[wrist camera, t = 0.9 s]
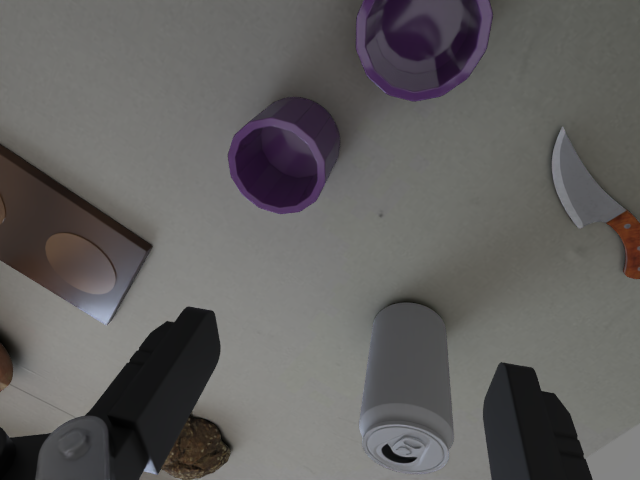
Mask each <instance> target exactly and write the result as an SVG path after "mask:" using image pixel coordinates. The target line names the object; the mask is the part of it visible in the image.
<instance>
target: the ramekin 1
mask: <svg viewBox="0 0 640 480" xmlns="http://www.w3.org/2000/svg"><path fill="white" fill-rule="evenodd" d="M339 151H340V135H339V131H338V128H337V125H336V123H335V121H334V119H333V118H332V117H331V115H330V114H329V113H328V112H327V111H326V110H325V109H324V108H323V107H322V106H321V105H319V104H318V103H316V102H314V101H312V100H309V99H306V98H302V97H288V98H283V99H281V100H278V101H276V102H274V103H272V104H271V105H270V106H269V107H267V108H266V109H265V110H263V111H262V112H261V113H260V114H258V115H257V116H256V117H255V118H253V119H252V120H251V121H250V122H248V123H247V124H246V125H245V126H244V127H243V128H242V129H241V130H239V131H238V132H237V133H236V134H235V135H234V137H233V140H232V143H231V146H230V149H229V152H228V161H229V168H230V174H231V178H232V179H233V181H234V182H235V184H236V186H237V187H238V189H239V190H240V192H241V194H242V195H243V196H244V197H246V198H247V199H248V200H249V201H251V202H252V203H253V204H255V205H256V206H257V207H259V208H260V209H264V210H267V211H271V212H274V213H277V214H286V213H295V212H300V211H302V210H303V209H305V208H306V207H308V206H309V205H311V204H312V203H314V202H315V201H316V200H317V198H318V197H319V195H320V193H321V191H322V189H323V187H324V185H325V183H326V181H327V179H328V177H329V175H330V173H331V171H332V169H333V167H334V165H335V163H336V160H337V158H338V156H339Z"/></svg>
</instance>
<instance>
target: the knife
mask: <svg viewBox="0 0 640 480" xmlns="http://www.w3.org/2000/svg"><path fill="white" fill-rule="evenodd" d="M552 174H553V180H554V185H555V188H556V191H557V194H558V196H559V198H560V201H561V203H562V205H563V206H564V208H565V210H566V212H567V213H568V215H569V216H570V218H571V219H572V221H573V222H574V223H575V225H576V226H577V227H578V228H579V229H580V228H582V227H584V226H586V225H588V224H590V223H593V222H605V223H607V224H608V225H610V226H611V227H612V228H613V229H614V230H615V231H616V232H617V233H618V234H619V236H620V238H621V239H622V242H623V244H624V247H625V254H626V259H625V265H624V270H623V272H624V273H625V275H626V276H627V277H630V278H633V279H640V223H639V222H638V221H637V219H636V218H635V217H634V216H633V215H632V214H631V213H630V212H629V211H628V210H626V209H625V208H624V207H622V206H621V205H620V204H618V203H617V202H616V201H615V200H614V199H613V198H611V197H610V196H609V195H608V194H607V193H606V192H605V191H604V190H603V189H602V188H601V187H600V186H599V184H598V183H597V182H596V181H595V180H594V179H593V177H592V176H591V175H590V173H589V172H588V171H587V169H586V168H585V166H584V165H583V163H582V162H581V160H580V158H579V157H578V155H577V153H576V151H575V150H574V148H573V146H572V144H571V142H570V140H569V138H568V136H567V134H566V132H565V130H564V127H562V129H561V131H560V133H559V135H558V138H557V141H556V144H555V147H554V150H553V155H552Z"/></svg>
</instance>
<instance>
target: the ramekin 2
mask: <svg viewBox="0 0 640 480" xmlns="http://www.w3.org/2000/svg"><path fill="white" fill-rule="evenodd" d="M492 19H493V12H492V8H491V4H490V0H364V1H363V3H362V5H361V7H360V10H359V12H358V14H357V18H356V51H357V53H358V56H359V58H360V61H361V63H362V66H363V68H364V71H365V73H366V75H367V77H368V78H369V79H370V80H371V81H373V82H374V83H375V84H376V85H377V86H378V87H379V88H380V89H381V90H383V91H384V92H385V93H386V94H388V95H390V96H394V97H398V98H401V99H405V100H409V101H420V100H425V99H431V98H436V97H441V96H443V95H445V94H446V93H447V92H449V91H450V90H452V89H453V88H455V87H456V86H458V85H459V84H460V83H462V82H463V81H465V80H466V79H467V78H468V77H469V76H470V74H471V73H472V71H473V70H474V68H475V67H476V65H477V64H478V62H479V61H480V59H481V58H482V56H483V55H484V53H485V51H486V49H487V45H488V40H489V35H490V30H491V24H492Z"/></svg>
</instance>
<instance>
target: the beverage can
mask: <svg viewBox="0 0 640 480" xmlns="http://www.w3.org/2000/svg"><path fill="white" fill-rule="evenodd" d="M359 429H360V432H361V434H362V436H363V440H362V446H363V449H364V451H365V453H366V454H367V455H368V456H369V457H370V458H371V459H372V460H373V461H374V462H376V463H377V464H379V465H381V466H383V467H385V468H387V469H390V470H393V471H396V472H401V473H407V474H426V473H431V472H434V471H437V470H439V469H441V468H442V467H443V466H444V465H445V464H446V463H447V462H448V459H449V449H450V448H451V446H452V444H453V441H454V431H453V417H452V403H451V390H450V376H449V362H448V349H447V335H446V327H445V324H444V322H443V320H442V318H441V317H440V316H439V315H438V314H437V313H436V312H435V311H433V310H432V309H430V308H428V307H426V306H423V305H420V304H416V303H397V304H393V305H390V306H388V307H386V308H384V309H383V310H381V311H380V312H379V313H378V314H377V316H376V318H375V320H374V323H373V329H372V336H371V343H370V350H369V357H368V364H367V371H366V378H365V385H364V392H363V400H362V407H361V414H360V421H359Z"/></svg>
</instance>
